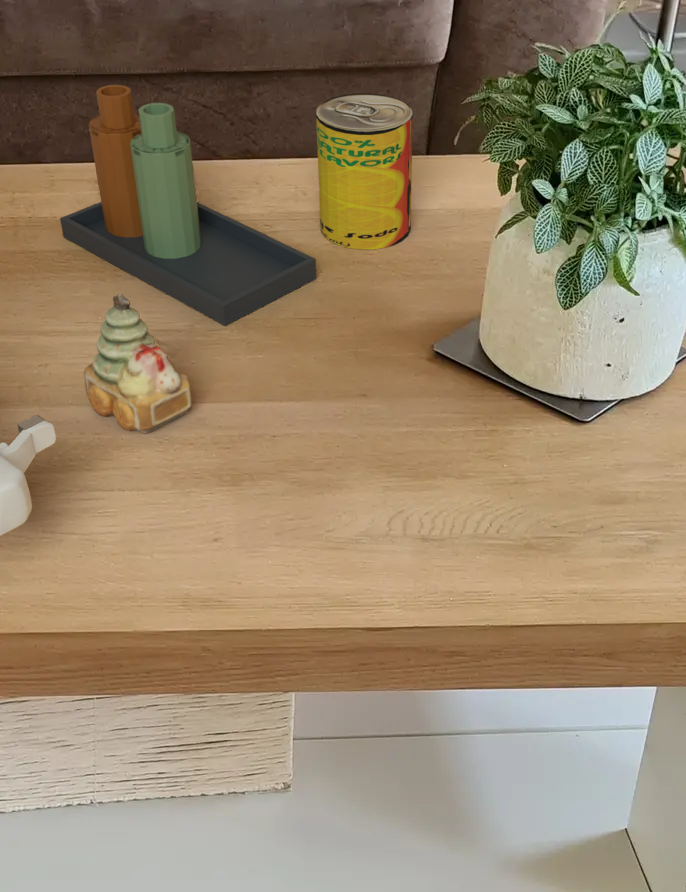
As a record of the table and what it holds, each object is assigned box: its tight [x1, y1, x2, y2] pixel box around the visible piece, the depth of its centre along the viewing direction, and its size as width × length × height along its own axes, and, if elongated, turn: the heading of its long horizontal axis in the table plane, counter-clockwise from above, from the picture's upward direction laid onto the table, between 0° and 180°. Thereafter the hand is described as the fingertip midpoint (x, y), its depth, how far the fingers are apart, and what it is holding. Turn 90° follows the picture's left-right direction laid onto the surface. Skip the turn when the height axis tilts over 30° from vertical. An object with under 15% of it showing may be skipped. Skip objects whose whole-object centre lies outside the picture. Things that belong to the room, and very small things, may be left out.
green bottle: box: [130, 102, 201, 259], centre depth 107 cm, size 5×5×14 cm
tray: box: [59, 201, 317, 327], centre depth 110 cm, size 23×11×2 cm, turn 50°
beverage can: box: [315, 92, 414, 250], centre depth 112 cm, size 9×9×12 cm
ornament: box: [83, 293, 193, 434], centre depth 88 cm, size 8×6×10 cm
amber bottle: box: [88, 84, 143, 237], centre depth 110 cm, size 5×5×14 cm
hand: (8, 399), depth 81 cm, fingers open, 8 cm apart
